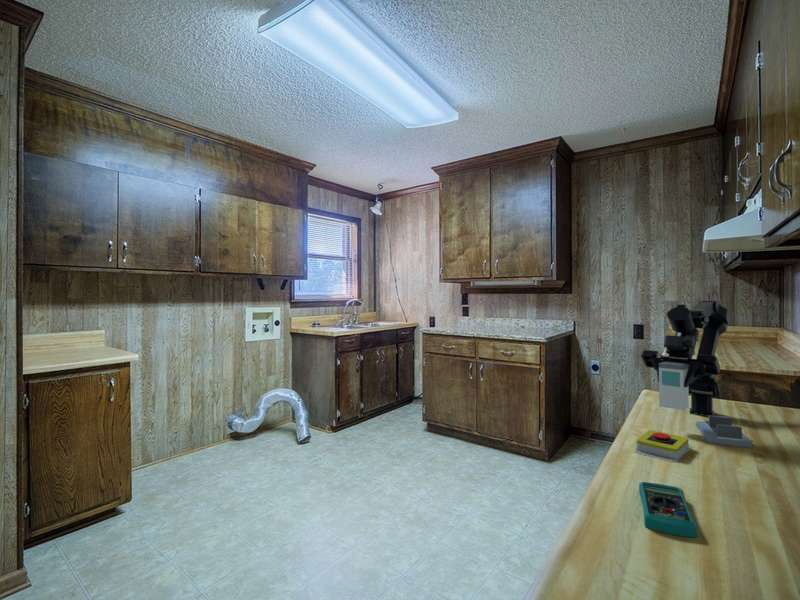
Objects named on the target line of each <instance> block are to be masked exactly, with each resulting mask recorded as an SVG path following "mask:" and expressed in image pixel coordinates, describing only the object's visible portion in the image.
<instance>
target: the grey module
mask: <svg viewBox="0 0 800 600" xmlns="http://www.w3.org/2000/svg"><path fill="white" fill-rule="evenodd" d="M687 373H688V364H683V363H673V362H662V363H659V382H658V394H659V395H658V403H659V405H658V406H659V407H662V408H667V409H673V410H679V411H683V412H684V411H685V410H687V409H690V405H689V403H690V400H689V398H690V397H689V396H690V395H689V386H688V387H684V382H685V379H686V376H687Z"/></svg>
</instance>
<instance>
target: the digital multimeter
mask: <svg viewBox="0 0 800 600" xmlns="http://www.w3.org/2000/svg"><path fill="white" fill-rule="evenodd" d="M638 488H639V489H638V492H639V496H640V499H641V503H642V508H643V517H644V526H645V528H647V529H650V530H653V531H657V532H660V533H664V534H668V535H674V536H680V537H686V538H687V537H688V538H697V537H698V535H697V534H698V533H697V532H698V528H697V527H698V526H697V523H696V522H695V520H694V518H693V515H692V514H691V511H690V509H689V507H688V504H687V501H686V497H685V493H684V490H683V489H682V488H679V487H678V486H671V485H666V484H661V483H654V482H647V481H642V482H639V483H638Z"/></svg>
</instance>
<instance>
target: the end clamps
mask: <svg viewBox="0 0 800 600" xmlns="http://www.w3.org/2000/svg"><path fill="white" fill-rule="evenodd" d="M708 421H709V427H716V428H717V436H718V437H726V438H735V439H742V433H743V427H742V426H741V425H735V426H733V425H734V424H733V418H732V417H731V416H724V415H723V416H722V415H714V416H713V415H709V416H708Z"/></svg>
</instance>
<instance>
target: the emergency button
mask: <svg viewBox="0 0 800 600" xmlns="http://www.w3.org/2000/svg"><path fill="white" fill-rule="evenodd" d="M691 448H692V445H691V444H689V438H688V437H687V436H682V435H676V434H673V433H667V432H661V431H657V430H653V429H652V430H648V431H647V432H645V433H644V434H643V435H641V436H639V437H637V439H636V446H635V449H634V451H633V452H634V453H635V454H638V455H642V454H643V456H647V457H651V458H654V457H655V459H658V458H659V460H662V459H663V461H666V460H667V461H668V462H670V461H671V463H678V462H679V460H681V459H682V458H683V457H684V455H686V453H687V452H688V451H690V449H691ZM677 461H678V462H677Z"/></svg>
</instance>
